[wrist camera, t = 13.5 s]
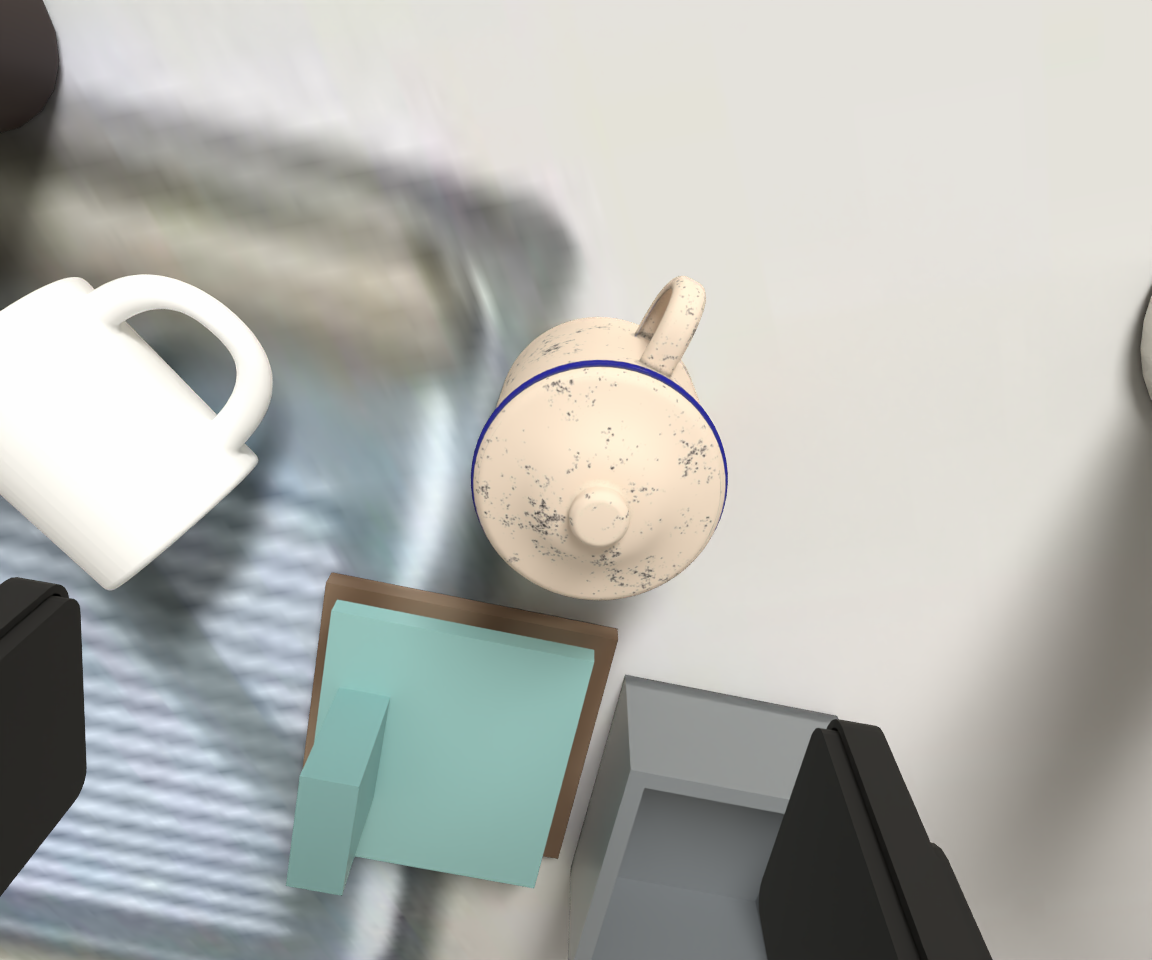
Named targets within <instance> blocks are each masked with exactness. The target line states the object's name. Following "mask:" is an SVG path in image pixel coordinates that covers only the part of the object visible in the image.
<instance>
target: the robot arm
mask: <svg viewBox="0 0 1152 960" xmlns="http://www.w3.org/2000/svg"><path fill="white" fill-rule="evenodd" d="M1141 360H1142V372H1143V377H1144V380H1145V383H1146V386H1147V390H1148V393H1149V396H1150V399H1151V400H1152V296H1151V299H1150V302H1149V306H1148V309H1147V312H1146V315H1145V318H1144V323H1143V332H1142V340H1141ZM85 776H86V742H85V716H84V691H83V666H82V640H81V615H80V606H79V604H78V602H77V601H76V600H74V599H70V598H69V596H68V592H67V591H66V589H65V587H63V586H62V585H59V584H53V583H47V582H41V581H36V580H30V579H24V578H18V577H15V578H10V579H8V580H6V581H4V582H3V583H2V584H0V896H1V895H2V894H3V892H4V891H5V890H6V889H7V887H8V886H9V885H10V884H11V882H12V881H13V880H14V878H15V877H16V876H17V875H18V873H19V872H20V871H21V869H22V868H23V867H24V866H25V864H26V863H27V862H28V861H29V859H30V858H31V857H32V855H33V854H34V853H35V852H36V850H37V849H38V848H39V846H40V845H41V844H42V843H43V841H44V840H45V839H46V837H47V836H48V835H49V834H50V832H51V831H52V830H53V829H54V827H55V826H56V825H57V823H58V822H59V821H60V820H61V818H62V817H63V816H64V814H65V813H66V812H67V811H68V809H69V808H70V807H71V806H72V804H73V803H74V802H75V800H76V799H77V797H78V796H79V793H80V791H81V789H82V787H83V784H84V781H85ZM759 915H760V921H761V927H762V932H763V938H764V943H765V949H766V954H767V960H992V958H991V955H990V953H989V951H988V949H987V946H986V944H985V942H984V940H983V937H982V935H981V933H980V931H979V928H978V926H977V924H976V922H975V919H974V917H973V915H972V913H971V910H970V908H969V906H968V904H967V901H966V899H965V897H964V895H963V892H962V890H961V888H960V886H959V883H958V881H957V879H956V877H955V874H954V872H953V870H952V868H951V865H950V863H949V861H948V859H947V857H946V856H945V854H944V852H943V851H942V849H941V848H940V847H938V846H937V845H936V844H934V843H931V842H930V840H929V838H928V835H927V833H926V831H925V828H924V826H923V824H922V822H921V819H920V817H919V815H918V812H917V810H916V808H915V805H914V803H913V801H912V798H911V796H910V794H909V791H908V789H907V787H906V784H905V782H904V780H903V778H902V775H901V773H900V771H899V768H898V766H897V764H896V761H895V759H894V757H893V754H892V752H891V750H890V747H889V745H888V743H887V740H886V738H885V736H884V734H883V732H882V730H881V729H880V728H879V727H877V726H873V725H868V724H862V723H856V722H850V721H845V720H839V719H834V720H832V721H831V722H830V723H829V724H828V726H827V729H823V728H816V729H815V730H814V731H813V733H812V735H811V738H810V741H809V744H808V746H807V749H806V752H805V755H804V758H803V761H802V764H801V767H800V770H799V773H798V776H797V779H796V782H795V785H794V787H793V790H792V793H791V796H790V799H789V802H788V805H787V808H786V811H785V814H784V817H783V820H782V823H781V825H780V828H779V831H778V834H777V837H776V840H775V843H774V846H773V849H772V852H771V855H770V858H769V861H768V864H767V866H766V869H765V872H764V875H763V878H762V881H761V885H760V891H759Z"/></svg>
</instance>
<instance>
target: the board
mask: <svg viewBox="0 0 1152 960" xmlns="http://www.w3.org/2000/svg"><path fill="white" fill-rule="evenodd" d="M337 600H342V601H348V602H353V603H358V604H363V605H368V606H373V607H378V608H383V609H388V610H393V611H399V612H404V613H409V614H414V615H419V616H424V617H429V618H434V619H439V620H444V621H450V622H455V623H460V624H465V625H470V626H475V627H480V628H485V629H490V630H495V631H501V632H506V633H511V634H516V635H521V636H526V637H531V638H536V639H541V640H546V641H551V642H557V643H562V644H567V645H572V646H577V647H582V648H587V649H592V650H594V665H593V669H592V672H591V676H590V680H589V684H588V687H587V691H586V695H585V699H584V703H583V706H582V710H581V714H580V718H579V721H578V725H577V729H576V733H575V736H574V740H573V744H572V748H571V751H570V755H569V759H568V763H567V767H566V770H565V774H564V778H563V782H562V785H561V789H560V793H559V797H558V800H557V804H556V808H555V812H554V815H553V819H552V823H551V827H550V830H549V834H548V838H547V842H546V846H545V849H544V853H543V856H545V857H551V858H556V859H558V857H559V853H560V850H561V846H562V842H563V839H564V835H565V831H566V828H567V824H568V820H569V817H570V813H571V809H572V806H573V802H574V799H575V795H576V791H577V788H578V784H579V780H580V777H581V773H582V769H583V766H584V762H585V758H586V755H587V751H588V747H589V744H590V740H591V736H592V733H593V729H594V725H595V722H596V718H597V715H598V711H599V707H600V704H601V700H602V696H603V693H604V689H605V685H606V682H607V678H608V674H609V671H610V667H611V663H612V660H613V656H614V652H615V649H616V645H617V642H618V631H617V629H616V628H611V627H606V626H601V625H595V624H590V623H585V622H580V621H575V620H570V619H565V618H560V617H555V616H550V615H545V614H540V613H535V612H530V611H525V610H520V609H514V608H509V607H504V606H499V605H494V604H489V603H484V602H479V601H474V600H469V599H464V598H459V597H454V596H449V595H444V594H439V593H433V592H428V591H423V590H418V589H413V588H408V587H403V586H398V585H393V584H388V583H383V582H378V581H373V580H368V579H363V578H358V577H352V576H347V575H342V574H337V573H331V575H330V576H329V578H328V580H327V582H326V587H325V595H324V603H323V611H322V619H321V627H320V634H319V642H318V650H317V658H316V666H315V674H314V682H313V690H312V698H311V706H310V714H309V722H308V730H307V738H306V746H305V754H304V762H303V768H304V765H305V763H306V761H307V759H308V756H309V754H310V752H311V750H312V747H313V745H314V740H315V732H316V725H317V717H318V709H319V702H320V694H321V686H322V679H323V671H324V663H325V656H326V648H327V640H328V633H329V625H330V617H331V610H332V609H333V607H334V605H335V603H336V601H337Z"/></svg>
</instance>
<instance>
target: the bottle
mask: <svg viewBox="0 0 1152 960" xmlns="http://www.w3.org/2000/svg"><path fill="white" fill-rule="evenodd" d="M58 65H59V56H58V49H57V41H56V33H55V29H54V27H53V24H52V22H51V19H50V17H49V15H48V12H47V10H46V7H45V5H44V2H43V0H0V133H1V132H5V131H8V130H12V129H16V128H19V127H21V126H23V125H24V124H25V123H26V122H28V121H29V120H30V119H32V118H33V117H34V116H35V115H37V114H38V113H39V112H41V111H42V109H43V107H44V106H45V104H46V102H47V101H48V99H49V97H50V95H51V94H52V92H53V90H54V88H55V82H56V76H57V70H58Z"/></svg>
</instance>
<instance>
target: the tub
mask: <svg viewBox="0 0 1152 960" xmlns="http://www.w3.org/2000/svg"><path fill="white" fill-rule="evenodd" d="M834 719H838V717H837V716H834V715H829V714H824V713H819V712H814V711H809V710H804V709H798V708H793V707H788V706H783V705H778V704H773V703H768V702H762V701H757V700H752V699H747V698H742V697H737V696H732V695H726V694H721V693H716V692H711V691H706V690H701V689H696V688H690V687H685V686H680V685H675V684H670V683H665V682H659V681H654V680H649V679H644V678H639V677H634V676H629V675H625V678H624V682H623V685H622V689H621V693H620V696H619V700H618V703H617V707H616V710H615V714H614V717H613V721H612V724H611V728H610V731H609V735H608V739H607V742H606V746H605V749H604V753H603V756H602V760H601V763H600V767H599V770H598V774H597V777H596V781H595V785H594V788H593V792H592V795H591V799H590V802H589V806H588V809H587V813H586V816H585V820H584V824H583V827H582V831H581V834H580V838H579V841H578V845H577V848H576V852H575V855H574V859H573V862H572V866H571V879H570V911H569V944H568V960H767V954H766V949H765V943H764V938H763V932H762V927H761V921H760V915H759V891H760V885H761V881H762V878H763V875H764V872H765V869H766V866H767V864H768V861H769V858H770V855H771V852H772V849H773V846H774V843H775V840H776V837H777V834H778V831H779V828H780V825H781V823H782V820H783V817H784V814H785V811H786V808H787V805H788V802H789V799H790V796H791V793H792V790H793V787H794V785H795V782H796V779H797V776H798V773H799V770H800V767H801V764H802V761H803V758H804V755H805V752H806V749H807V746H808V744H809V741H810V738H811V735H812V733H813V731H814V730H815V729H816V728H823V729H827V726H828V724H829V723H830V722H831V721H832V720H834Z"/></svg>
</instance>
